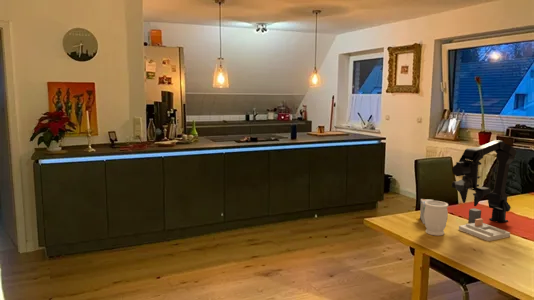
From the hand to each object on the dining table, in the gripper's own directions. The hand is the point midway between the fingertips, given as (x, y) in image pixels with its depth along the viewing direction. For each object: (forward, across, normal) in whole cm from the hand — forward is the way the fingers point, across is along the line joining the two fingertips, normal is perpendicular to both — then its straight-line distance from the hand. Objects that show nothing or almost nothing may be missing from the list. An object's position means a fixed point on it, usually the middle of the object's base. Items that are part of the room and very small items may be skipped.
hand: (469, 204), depth 206 cm
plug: (+12, -4, +9) cm, 15 cm away
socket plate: (+12, +9, 0) cm, 15 cm away
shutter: (+10, +6, 0) cm, 11 cm away
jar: (+12, -1, -21) cm, 24 cm away
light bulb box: (+12, -16, -11) cm, 23 cm away
